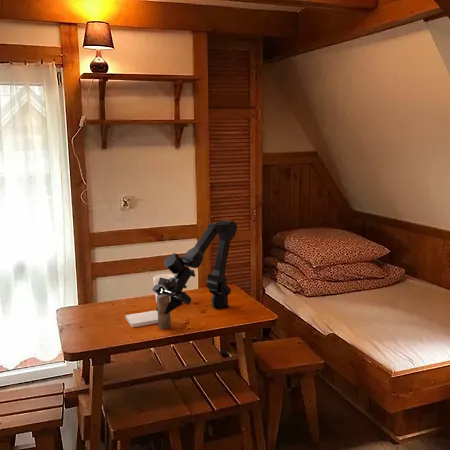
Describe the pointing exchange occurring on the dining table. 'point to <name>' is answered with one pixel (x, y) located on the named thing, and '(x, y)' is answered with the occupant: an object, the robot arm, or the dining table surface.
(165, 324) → the walnut roller
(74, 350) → the dining table surface
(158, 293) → the robot arm
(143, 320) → the stone slab
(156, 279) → the white cylinder
